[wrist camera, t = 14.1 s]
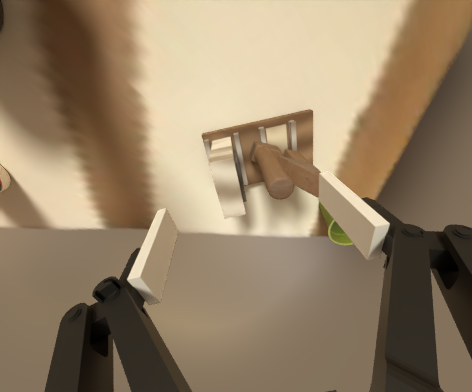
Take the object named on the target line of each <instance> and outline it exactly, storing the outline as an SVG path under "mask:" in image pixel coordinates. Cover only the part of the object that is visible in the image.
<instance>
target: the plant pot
mask: <svg viewBox="0 0 472 392" xmlns="http://www.w3.org/2000/svg"><path fill="white" fill-rule="evenodd" d="M319 208H320V210H321V212H322V215H323V217H324V219H325V222H326V224H327V228H328V236H329V238H330V240H331V241H333V242H334V243H336V244H340V245H351V244H354V243H353V242H352V241H351V239H350V238H349V237H348V236H347V235H346V233H345V232H344V231H343V230H342V228H341V227H340V226H339V225H338V223H337V222H336V221H335V220H334V219H333V217H332V216H331V215H330V214H329V212H328V211H327V210H326V209H325V208H324V206H323V205H322V204H321V203H320V201H319Z"/></svg>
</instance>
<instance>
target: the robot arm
mask: <svg viewBox="0 0 472 392" xmlns="http://www.w3.org/2000/svg"><path fill="white" fill-rule="evenodd" d="M2 23H3V10H2V4H1V0H0V30H1V28H2ZM319 201H320V203H321V204H322V205H323V206H324V208H325V209H326V210H327V211H328V212H329V214H330V215H331V216H332V217H333V219H334V220H335V221H336V222H337V223H338V225H339V226H340V227H341V228H342V230H343V231H344V232H345V233H346V235H347V236H348V237H349V238H350V239H351V241H352V242H353V243H354V244H355V246H356V247H357V248H358V249H359V250H360V252H361V253H362V254H363V255H364V257H365V258H366V259H367V260H370V259H375V258H380V256H381V253H382V251H383V252H384V253H385V254H386V255H387V258H386V261H385V264H384V268H385V272H384V281H383V289H382V298H381V306H380V315H379V324H378V332H377V341H376V350H375V359H374V367H373V376H372V383H371V387H370V391H369V392H443V390H442V389H441V388H440V385H439V381H438V369H437V354H436V340H435V327H434V313H433V299H432V285H431V271H430V269H431V270H432V273H433V275H434V277H435V279H436V281H437V284H438V285H439V288H440V290H441V292H442V295H443V297H444V299H445V301H446V303H447V306H448V308H449V310H450V312H451V314H452V317H453V319H454V321H455V323H456V325H457V328H458V330H459V332H460V334H461V336H462V339H463V341H464V343H465V345H466V347H467V350H468V352H469V354H470V356H471V358H472V228H469V227H466V226H463V225H448V226H446V227H445V228H444V230H443V232H434V231H432V232H431V231H424V230H423V229H421V228H420V227H417V226H415V225H411V224H404V223H402V222H401V221H400V220H399V219H398V218H396V217H395V216H394V215H393V214H391V213H390V212H389V211H387V210H386V209H385V208H384V207H381V205H380V204H379V203H377V202H376V201H375V200H372V199H370V198H367V197H366V198H361V199H360V198H359V197H358V196H357V195H356V194H355V193H353V192H352V191H351V190H350V189H349V188H348V187H346V186H345V185H344V184H343V183H342V182H341V181H339V180H338V179H337V178H336V177H335V176H334V175H332V174H331V173H330V172H329V171H327V172H323V173H319ZM177 235H178V230H177V228H176V226H175V224H174V222H173V220H172V218H171V216H170V214H169V212H168V210H167V208H165V209H161V210H158V211H157V213H156V216H155V218H154V220H153V222H152V225H151V227H150V229H149V231H148V234H147V236H146V238H145V240H144V243H143V245H142V247H141V248H137V249H136V250H135V251H134V252H133V253H132V254H131V257H130V258H129V260H128V263H127V265H126V267H125V269H124V271H123V273H122V275H121V277H120V279H119V280H118V279H117V278H116V277H108V278H106V279H104V280H103V281H101V282H100V283H99V284H98V285H97V286H96V287H95V289H94V291H93V297H94V298H95V299H96V300H97V301H98V302H97V303H95V304H93V305H91V306H88V305H87V304H85V303H80V304H77V305H75V306H74V307H72V308H71V309H70V310H69V311H68V312H67V313H66V314H65V315H64V316H63V318H62V320H61V322H60V326H59V331H58V335H57V339H56V344H55V348H54V352H53V357H52V361H51V366H50V370H49V374H48V379H47V383H46V387H45V392H113V391H114V389H113V339H114V342H115V345H116V348H117V351H118V354H119V356H120V360H121V363H122V365H123V368H124V371H125V374H126V377H127V380H128V383H129V386H130V389H131V391H132V392H192V391H191V389H190V387H189V385H188V384H187V382H186V380H185V378H184V377H183V375H182V373H181V371H180V369H179V368H178V366H177V364H176V363H175V361H174V359H173V357H172V355H171V354H170V352H169V350H168V349H167V347H166V345H165V343H164V341H163V340H162V338H161V336H160V334H159V333H158V331H157V329H156V327H155V326H154V324H153V322H152V320H151V319H150V317H149V315H148V313H147V312H146V310H145V308H144V307H143V305H144V302H145V301H146V302H147V303H148V304H149V305H152V304H157V303H160V302H161V299H162V295H163V291H164V287H165V283H166V279H167V275H168V271H169V267H170V263H171V259H172V255H173V251H174V247H175V243H176V239H177ZM328 392H336V390H334V391H328Z"/></svg>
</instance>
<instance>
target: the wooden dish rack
mask: <svg viewBox="0 0 472 392" xmlns="http://www.w3.org/2000/svg"><path fill="white" fill-rule="evenodd" d="M202 138H203V142H204V146H205V149H206V153H207V156H208V159H209V167H210V171H211V174H212V178H213V181H214V184H215V188H216V191H217V194H218V198H219V201H220V204H221V208H222V211H223V215H224V218H230V217H235V216H240V215H245V214H246V212H245V207H244V202H245V201H246V196H245V191H244V185H249V184H253V183H258V182H263V181H264V180H263V177H262V175H261V172H260V170H259V168H258V165H257V163H256V162H253V161H251V158H250V152H251V149H252V146H253V142H254V141H259V142H263V143H267V144H271V145H274V146H277V147H278V148H279V149H280V150H281V151H282V153H284V151H285V149H289V150H293V151H297V152H299V153H301V154H302V155H303V156H304V157H305V158H306V159H307V160H308V161H309V162H310V163H311V164H313V110H310V109H309V110H305V111H300V112H296V113H291V114H287V115H282V116H278V117H274V118H269V119H265V120H260V121H256V122H251V123H247V124H243V125H238V126H234V127H229V128H225V129H220V130H216V131H212V132H207V133H203V134H202Z"/></svg>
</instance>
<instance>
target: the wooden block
mask: <svg viewBox="0 0 472 392" xmlns="http://www.w3.org/2000/svg"><path fill="white" fill-rule="evenodd" d="M250 158H251V161H253V162H256V163H257V165H258V168H259V170H260V172H261V175H262V177H263V180H264V182H265V184H266V187H267V189H268V192H269V194H270V195H271V196H272V197H273V198H275V199H285V198H287V197H288V196H290V195H291V193H292V192H293V189H294V185H296V186H297V187H299V188H301V189H303V190H305V191H307V192H308V193H310V194H312V195H314V196H316V197H318V198H319V173H321V172H320V171H319V170H318V169H317V168H316V167H315V166H314V165H313V164H311V163H310V162H309V161H308V160H307V159H306V158H305V157H304V156H303V155H302V154H301V153H299V152H297V151H293V150H289V149H285V151H284V153H282V151H281V150H280V149H279V148H278V147H277V146H274V145H271V144H267V143H263V142H259V141H254V142H253V146H252V149H251V152H250Z"/></svg>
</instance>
